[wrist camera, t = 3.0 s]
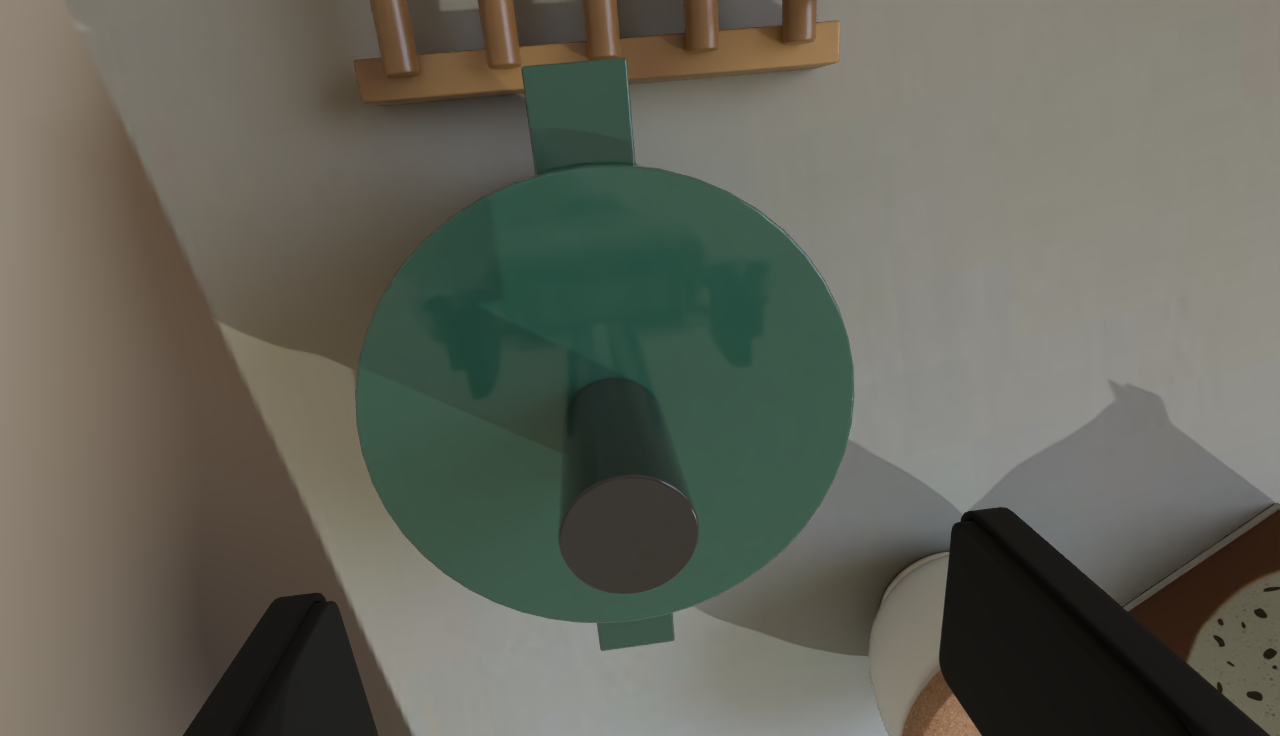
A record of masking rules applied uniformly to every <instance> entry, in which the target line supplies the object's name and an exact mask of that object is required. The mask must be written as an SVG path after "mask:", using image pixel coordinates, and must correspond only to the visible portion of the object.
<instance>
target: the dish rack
mask: <svg viewBox="0 0 1280 736" xmlns="http://www.w3.org/2000/svg"><path fill="white" fill-rule="evenodd" d="M582 1H583V11H584V21H585V31H586V41H581V42H568V43H556V44H544V45H532V46H519V41H518V33H517V26H516V19H515V11H514V4H513V0H478V5H479V12H480V18H481V25H482V31H483V38H484V44H485V49H482V50H470V51H458V52H445V53H433V54H421V55H417V52H416V46H415V41H414V36H413V30H412V25H411V20H410V14H409V9H408V4H407V0H370V4H371V9H372V14H373V18H374V23H375V28H376V33H377V38H378V43H379V48H380V52H381V57H382V58H371V59H359V60H354V67H355V71H356V76H357V80H358V85H359V89H360V94H361V98H362V102H363V103H368V104H375V105H382V106H383V105H395V104H406V103H418V102H430V101H441V100H453V99H465V98H476V97H488V96H500V95H511V94H523V93H524V86H523V79H522V72H521V68H522V67H523V66H530V65H542V64H554V63H566V62H578V61H590V60H602V59H614V58H626V60H627V69H628V81H629V84H640V83H651V82H663V81H675V80H686V79H698V78H710V77H721V76H733V75H745V74H756V73H768V72H780V71H791V70H803V69H815V68H819V67H823V66H827V65H830V64H834V63H837V62H838V61H839V35H840V22H839V21H827V22H816V0H782V25H778V26H766V27H753V28H741V29H729V30H719V21H718V0H684V13H685V32H686V33H679V34H667V35H655V36H642V37H630V38H620V34H619V22H618V10H617V0H582Z"/></svg>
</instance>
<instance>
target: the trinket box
mask: <svg viewBox="0 0 1280 736" xmlns="http://www.w3.org/2000/svg"><path fill="white" fill-rule="evenodd" d="M948 561H949V552H942V553H937V554H934V555H930V556H927V557H925V558H923V559H921V560H918V561H916V562H915V563H913V564H912V565H910V566H908V567H907V568H906V569H905V570H903V571H902V572H901V573H900V574H899V575H898V576H897V577H896V578H895V579H894V580H893V581H892V583H891V584H890V585H889V587H888V588H887V590H886V592H885V594H884V595H883V598H882V601H881V604H880V608H879V610H878V613H877V615H876V617H875V620H874V623H873V626H872V630H871V636H870V642H869V649H868V656H869V675H870V680H871V684H872V688H873V692H874V696H875V700H876V704H877V708H878V710H879V713H880V716H881V718H882V721H883V724H884V727H885V729H886V731H887V733H888V735H889V736H982V735H981V734H980V733H979V731H978V730H977V728H976V727H975V725H974V724H973V722H972V721H971V719H970V718H969V716H968V715H967V713H966V712H965V710H964V709H963V707H962V706H961V704H960V703H959V701H958V700H957V698H956V697H955V695H954V694H953V692H952V691H951V689H950V688H949V686H948V685H947V683H946V681H945V679H944V677H943V675H942V672H941V668H940V664H939V650H940V640H941V630H942V620H943V610H944V601H945V591H946V581H947V571H948Z"/></svg>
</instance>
